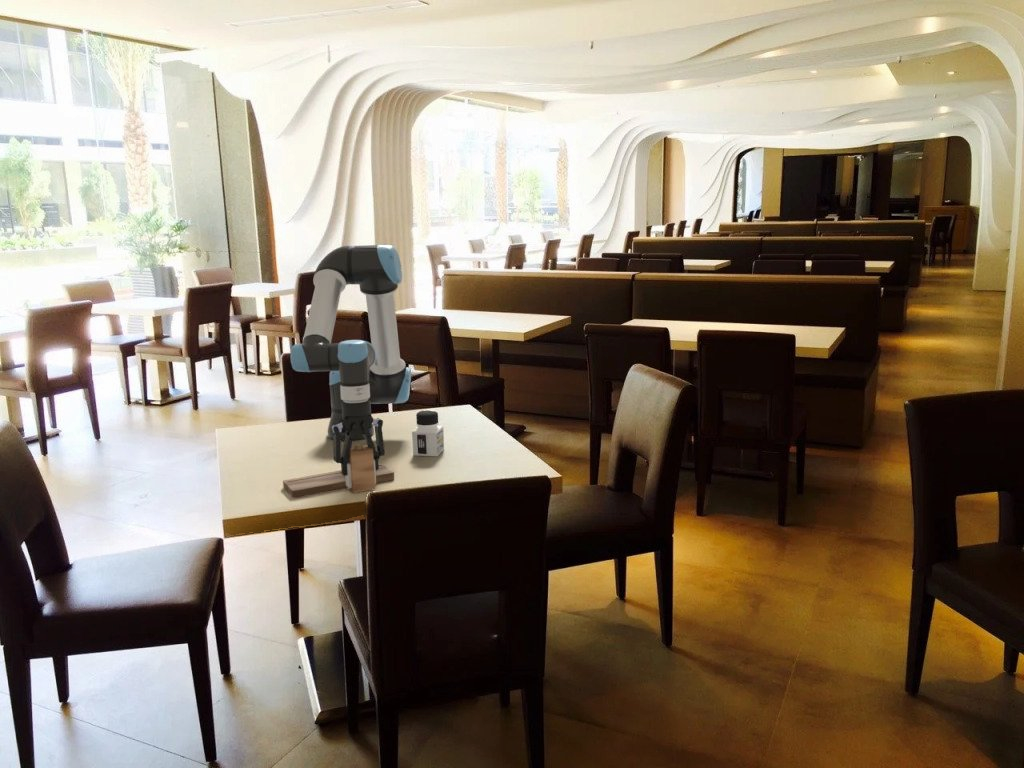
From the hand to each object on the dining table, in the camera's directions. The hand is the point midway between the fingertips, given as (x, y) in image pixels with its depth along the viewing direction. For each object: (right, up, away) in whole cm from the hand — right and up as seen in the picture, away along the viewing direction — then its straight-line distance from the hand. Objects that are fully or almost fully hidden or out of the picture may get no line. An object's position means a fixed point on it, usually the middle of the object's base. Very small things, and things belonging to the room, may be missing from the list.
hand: (361, 484), depth 219 cm
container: (+15, +5, +32) cm, 36 cm away
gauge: (-2, 0, +4) cm, 5 cm away
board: (-7, -1, +5) cm, 9 cm away
